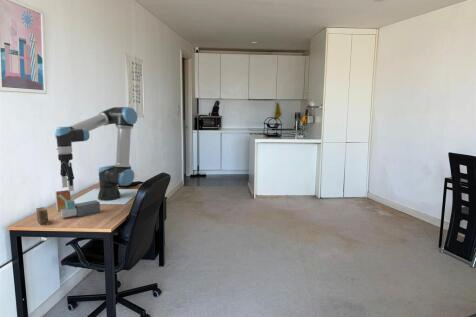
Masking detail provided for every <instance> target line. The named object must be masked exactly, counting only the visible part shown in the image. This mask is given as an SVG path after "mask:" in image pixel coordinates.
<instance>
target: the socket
mask: <svg viewBox="0 0 476 317" xmlns="http://www.w3.org/2000/svg"><path fill="white" fill-rule="evenodd" d="M35 209H36V218H37V222H38V224H39V226H43V225H49V215H48V209H47V208H46V207H45V206H42V207H36V208H35Z"/></svg>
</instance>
